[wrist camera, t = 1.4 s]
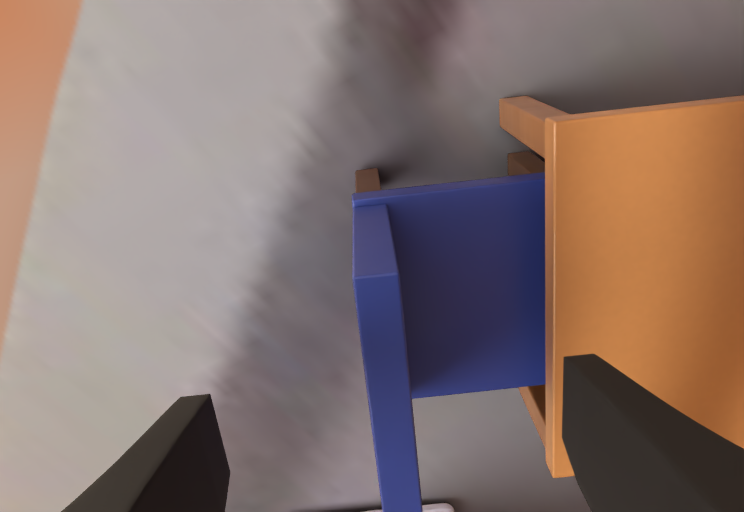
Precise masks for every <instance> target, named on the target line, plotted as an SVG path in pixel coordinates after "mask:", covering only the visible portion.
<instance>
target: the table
mask: <svg viewBox="0 0 744 512" xmlns="http://www.w3.org/2000/svg"><path fill="white" fill-rule="evenodd" d="M499 114H500V127H501V128H503V129H504V130H505V131H507V132H508V133H510V134H511V135H512V136H514V137H515V138H517V139H518V140H519V141H521V142H522V143H524V144H525V145H526V146H528V147H529V148H530V149H532V150H533V151H535V152H536V153H537V154H539V155H540V156H542V157H543V158H544V159H545V346H546V384H545V385H536V386H527V387H518V389H519V391H520V393H521V395H522V398H523V400H524V402H525V404H526V406H527V409H528V411H529V413H530V415H531V418H532V420H533V422H534V424H535V426H536V429H537V431H538V433H539V435H540V438H541V440H542V442H543V444H544V447H545V449H546V463H547V465H548V468H549V470H550V472H551V475H552V477H553V478H560V477H569V476H575V474H574V472H573V469H572V466H571V463H570V460H569V458H568V455H567V452H566V449H565V446H564V443H563V440H562V405H563V361H564V357H565V356H575V355H584V354H596V355H597V356H599V357H600V358H602V359H603V360H605V361H606V362H608V363H609V364H611V365H612V366H613V367H615V368H616V369H618V370H619V371H621V372H622V373H623V374H625V375H626V376H628V377H629V378H631V379H632V380H634V381H635V382H636V383H638V384H639V385H641V386H642V387H644V388H645V389H647V390H648V391H650V392H651V393H652V394H654V395H655V396H657V397H658V398H660V399H661V400H663V401H664V402H666V403H668V404H669V405H671V406H672V407H674V408H675V409H677V410H678V411H680V412H682V413H683V414H685V415H686V416H688V417H690V418H691V419H693V420H694V421H696V422H698V423H699V424H701V425H703V426H705V427H706V428H708V429H710V430H711V431H713V432H715V433H716V434H718V435H720V436H722V437H723V438H725V439H727V440H729V441H730V442H732V443H734V444H736V445H738V446H740V447H742V448H743V449H744V95H742V96H733V97H724V98H715V99H706V100H697V101H688V102H679V103H670V104H661V105H652V106H643V107H634V108H625V109H617V110H608V111H599V112H590V113H581V114H572V115H570V114H568V113H565V112H563V111H561V110H558V109H556V108H554V107H551V106H549V105H547V104H544V103H542V102H540V101H537V100H535V99H533V98H530V97H528V96H519V97H510V98H501V99H500V100H499Z"/></svg>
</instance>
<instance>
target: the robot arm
mask: <svg viewBox="0 0 744 512" xmlns="http://www.w3.org/2000/svg"><path fill="white" fill-rule="evenodd" d="M562 440H563V443H564V446H565V449H566V452H567V455H568V458H569V460H570V463H571V466H572V469H573V472H574V474H575V477H576V480H577V482H578V485H579V487H580V489H581V491H582V493H583V495H584V497H585V499H586V501H587V503H588V505H589V507H590V509H591V511H592V512H744V449H743V448H742V447H740V446H738V445H736V444H734V443H732V442H730V441H729V440H727V439H725V438H723V437H722V436H720V435H718V434H716V433H715V432H713V431H711V430H710V429H708V428H706V427H705V426H703V425H701V424H699V423H698V422H696V421H694V420H693V419H691V418H690V417H688V416H686V415H685V414H683V413H682V412H680V411H678V410H677V409H675V408H674V407H672V406H671V405H669V404H668V403H666V402H664V401H663V400H661V399H660V398H658V397H657V396H655V395H654V394H652V393H651V392H650V391H648V390H647V389H645V388H644V387H642V386H641V385H639V384H638V383H636V382H635V381H634V380H632V379H631V378H629V377H628V376H626V375H625V374H623V373H622V372H621V371H619V370H618V369H616V368H615V367H613V366H612V365H611V364H609V363H608V362H606V361H605V360H603V359H602V358H600V357H599V356H597V355H596V354H584V355H575V356H565V357H564V361H563V405H562ZM229 477H230V469H229V465H228V462H227V458H226V454H225V450H224V446H223V442H222V438H221V434H220V430H219V427H218V423H217V419H216V415H215V411H214V407H213V403H212V399H211V395H210V394H205V395H196V396H186V397H180V398H179V399H178V400H177V401H176V402H175V403H174V404H173V405H172V406H171V407H170V408H169V409H168V410H167V411H166V412H165V413H164V414H163V415H162V416H161V417H160V418H159V419H158V420H157V421H156V422H155V423H154V424H153V425H152V426H151V427H150V428H149V429H148V430H147V431H146V432H145V433H144V434H143V435H142V436H141V437H140V438H139V439H138V440H137V441H136V442H135V443H134V444H133V445H132V446H131V447H130V448H129V449H128V450H127V451H126V452H125V453H124V454H123V455H122V456H121V457H120V458H119V459H118V461H117V462H115V463H114V464H113V465H112V466H111V467H110V468H109V469H108V470H107V471H106V472H105V473H104V474H103V475H101V476H100V477H99V478H98V479H97V480H96V481H95V482H94V483H93V484H92V485H91V486H90V487H88V488H87V489H86V490H85V491H84V492H83V493H82V494H81V495H80V496H79V497H78V498H76V499H75V500H74V501H73V502H72V503H71V504H70V505H68V506H67V507H66V508H65V509H64V510H63V511H61V512H225V506H226V500H227V492H228V485H229ZM422 509H423V511H422V512H454V509H453V507H452V506H451V505H449V504H447V503H439V504H429V505H422ZM362 512H382V509H381V510H372V511H362Z"/></svg>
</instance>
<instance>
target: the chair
mask: <svg viewBox="0 0 744 512" xmlns="http://www.w3.org/2000/svg"><path fill="white" fill-rule="evenodd" d="M507 157H508V175H509V176H505V177H496V178H487V179H478V180H469V181H460V182H451V183H442V184H433V185H424V186H415V187H406V188H397V189H388V190H381V185H380V179H379V173H378V169H377V168H374V169H365V170H357V171H356V172H355V174H356V193H353V194H352V206H353V287H354V294H355V302H356V310H357V318H358V325H359V333H360V341H361V349H362V356H363V364H364V372H365V380H366V388H367V395H368V403H369V411H370V419H371V426H372V434H373V442H374V450H375V457H376V465H377V473H378V481H379V488H380V496H381V504H382V512H422V511H423V509H422V499H421V489H420V479H419V468H418V458H417V448H416V438H415V427H414V417H413V407H412V399H414V398H424V397H433V396H442V395H452V394H461V393H470V392H480V391H489V390H499V389H508V388H517V387H527V386H536V385H545V384H546V346H545V163H544V162H543V161H542V160H540V159H539V158H538V157H536V156H535V155H534V154H532V153H531V152H529V151H526V152H517V153H509V154H508V155H507Z"/></svg>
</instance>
